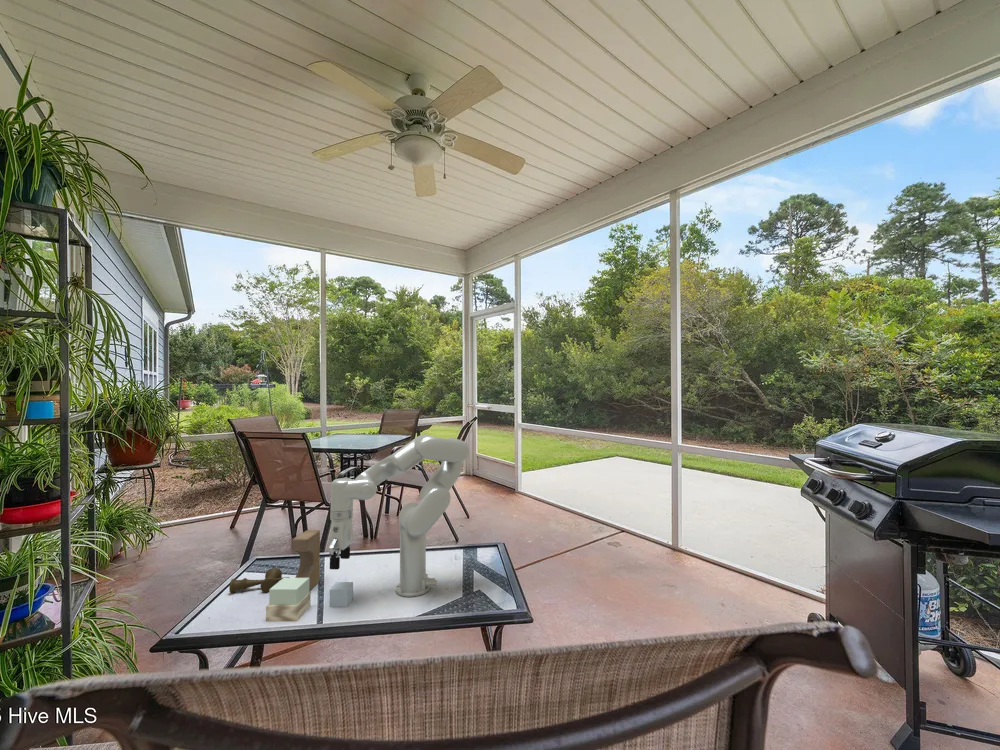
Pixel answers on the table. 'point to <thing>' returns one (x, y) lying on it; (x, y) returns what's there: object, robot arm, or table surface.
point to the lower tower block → (288, 610)
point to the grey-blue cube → (341, 594)
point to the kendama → (258, 581)
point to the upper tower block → (289, 591)
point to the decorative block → (308, 556)
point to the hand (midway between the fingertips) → (339, 563)
